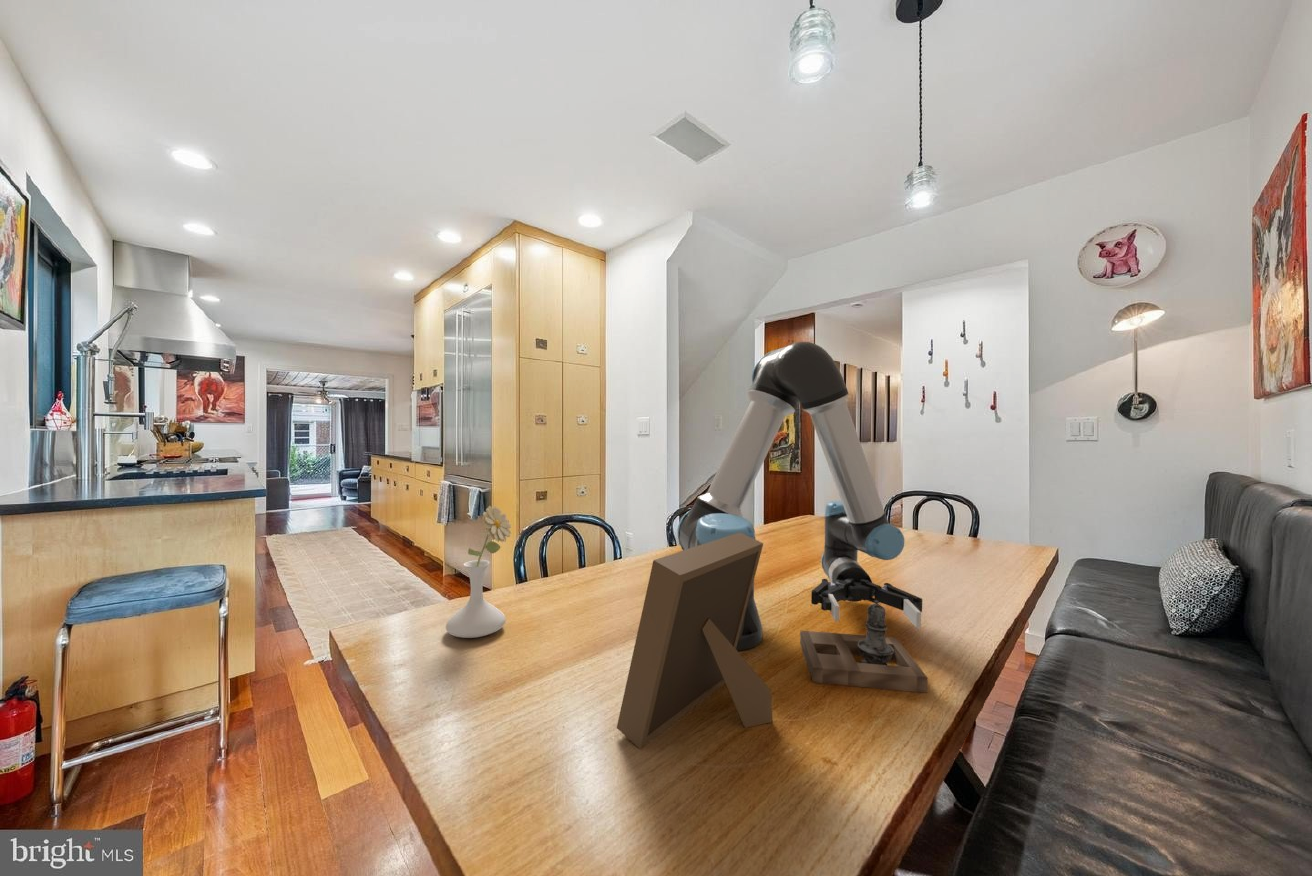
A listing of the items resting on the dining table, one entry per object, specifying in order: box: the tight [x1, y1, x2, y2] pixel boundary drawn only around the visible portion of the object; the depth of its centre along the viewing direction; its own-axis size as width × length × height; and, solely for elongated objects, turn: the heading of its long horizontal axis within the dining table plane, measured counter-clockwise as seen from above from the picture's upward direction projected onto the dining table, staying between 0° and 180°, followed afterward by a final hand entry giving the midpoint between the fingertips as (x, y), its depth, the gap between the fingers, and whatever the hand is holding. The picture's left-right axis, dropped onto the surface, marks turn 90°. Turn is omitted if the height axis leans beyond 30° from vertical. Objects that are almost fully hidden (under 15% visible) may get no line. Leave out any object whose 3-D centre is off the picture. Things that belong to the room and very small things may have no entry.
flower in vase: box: [445, 505, 512, 639], centre depth 97 cm, size 13×11×25 cm
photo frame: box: [616, 533, 774, 750], centre depth 68 cm, size 15×22×25 cm
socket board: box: [799, 630, 928, 694], centre depth 85 cm, size 18×14×2 cm
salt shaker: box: [858, 600, 894, 665], centre depth 84 cm, size 6×6×12 cm
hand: (877, 617), depth 85 cm, fingers open, 13 cm apart
